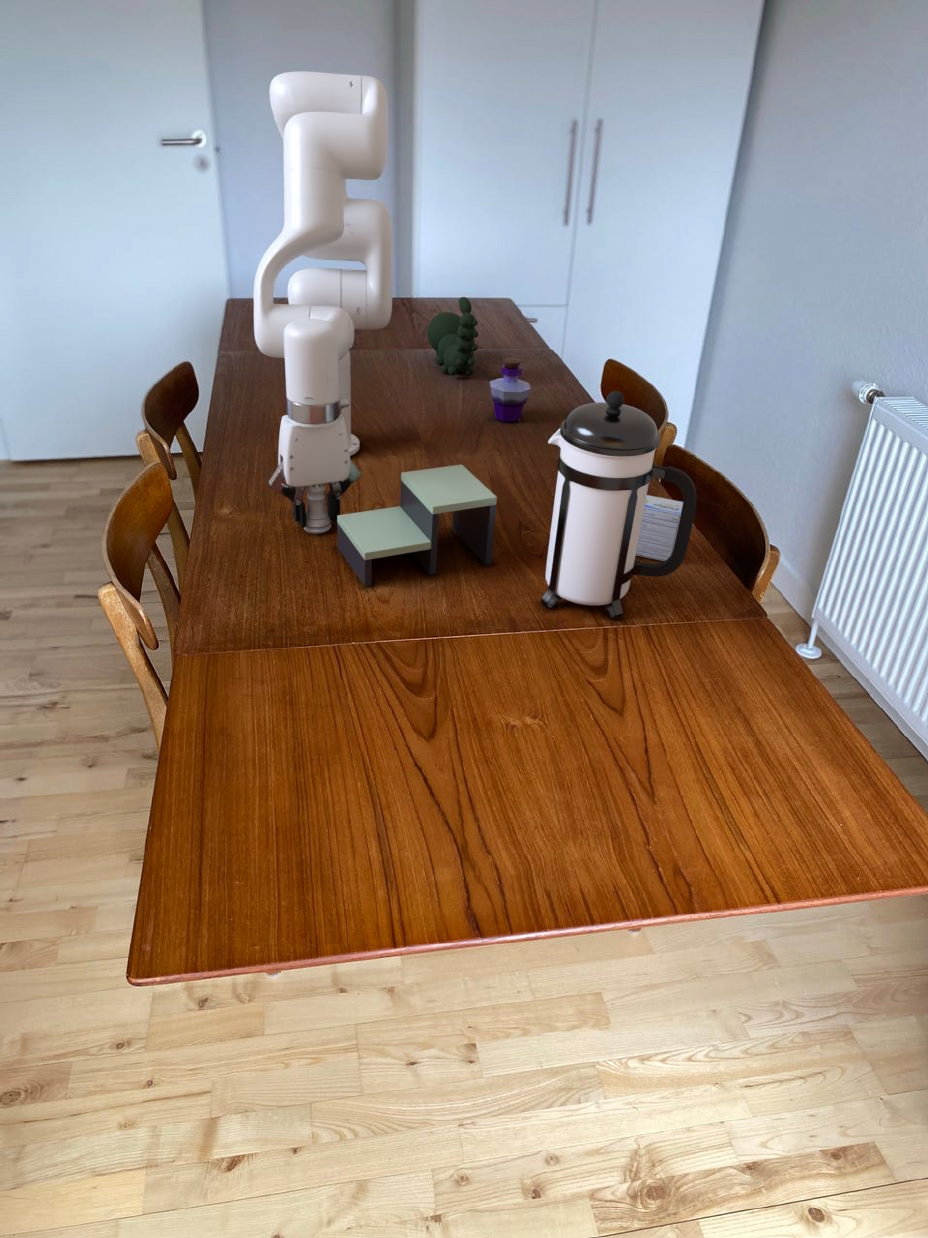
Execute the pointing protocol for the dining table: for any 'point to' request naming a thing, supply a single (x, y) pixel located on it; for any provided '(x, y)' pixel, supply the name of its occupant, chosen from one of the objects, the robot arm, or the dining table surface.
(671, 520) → the medicine box
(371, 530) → the rack
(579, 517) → the coffee press
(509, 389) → the potion bottle
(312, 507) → the rook chess piece
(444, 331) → the toy figurine
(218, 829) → the dining table surface
